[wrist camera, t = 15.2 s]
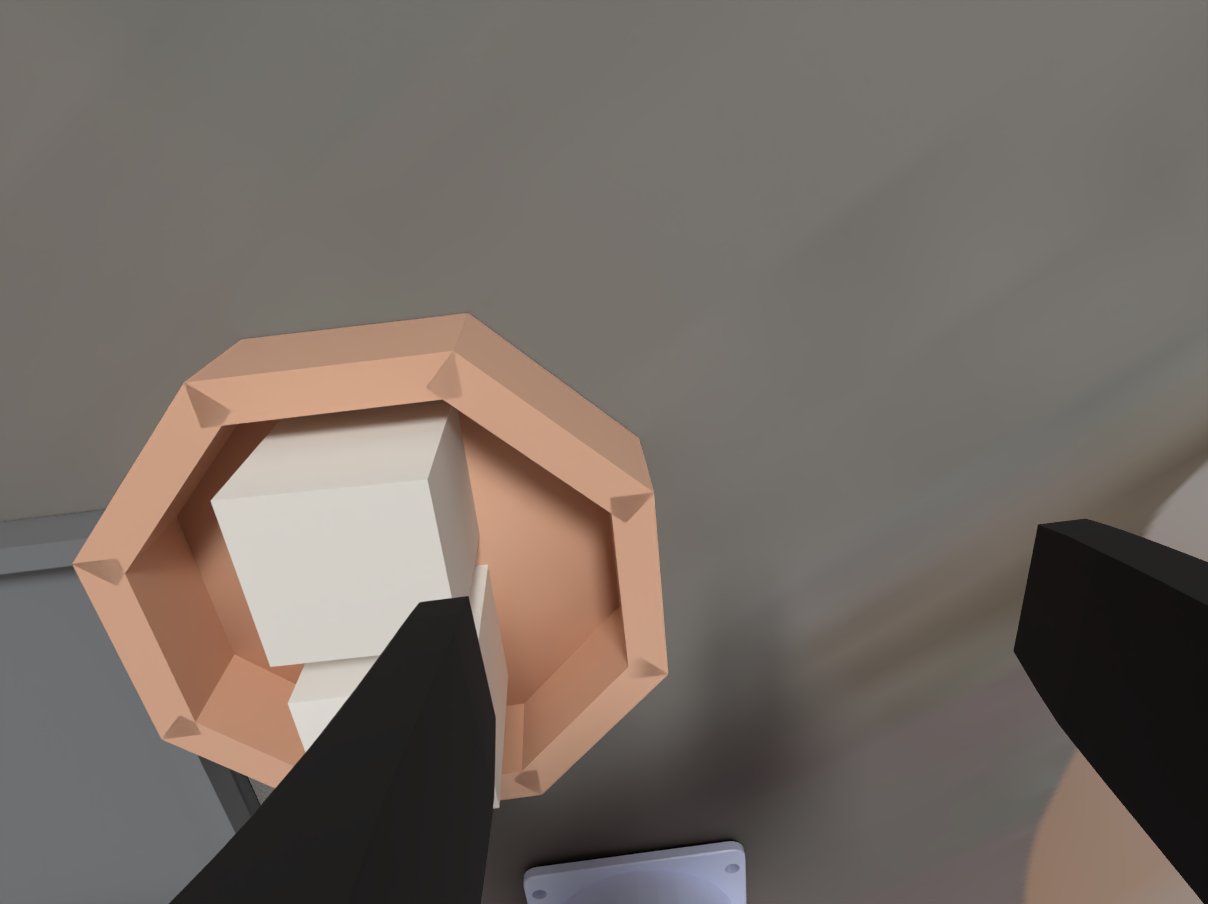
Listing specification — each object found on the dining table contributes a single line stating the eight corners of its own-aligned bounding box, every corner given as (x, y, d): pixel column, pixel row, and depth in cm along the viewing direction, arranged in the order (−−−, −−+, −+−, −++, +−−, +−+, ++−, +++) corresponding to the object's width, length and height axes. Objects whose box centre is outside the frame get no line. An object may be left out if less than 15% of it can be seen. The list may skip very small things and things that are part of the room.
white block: (508, 675, 21) (499, 808, 17) (373, 690, 21) (333, 827, 17) (488, 564, 20) (472, 682, 16) (341, 580, 19) (287, 703, 15)
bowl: (661, 698, 23) (676, 777, 20) (252, 751, 23) (211, 838, 20) (626, 294, 17) (641, 328, 14) (80, 357, 17) (-10, 405, 14)
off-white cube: (479, 533, 19) (461, 646, 15) (329, 548, 19) (270, 667, 15) (455, 394, 17) (427, 479, 13) (289, 409, 17) (210, 500, 13)
